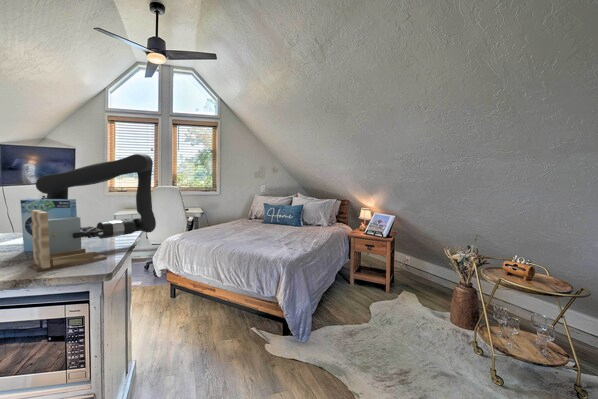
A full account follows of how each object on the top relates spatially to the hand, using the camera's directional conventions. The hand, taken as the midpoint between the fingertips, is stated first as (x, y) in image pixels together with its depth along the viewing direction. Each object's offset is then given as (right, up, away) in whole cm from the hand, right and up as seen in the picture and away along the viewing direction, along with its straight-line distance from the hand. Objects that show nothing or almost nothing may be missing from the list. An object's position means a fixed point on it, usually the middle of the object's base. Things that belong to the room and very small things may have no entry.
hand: (69, 234), depth 127 cm
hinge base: (+7, -10, -8) cm, 15 cm away
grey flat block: (-2, -9, -1) cm, 9 cm away
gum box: (-14, -8, +7) cm, 17 cm away
